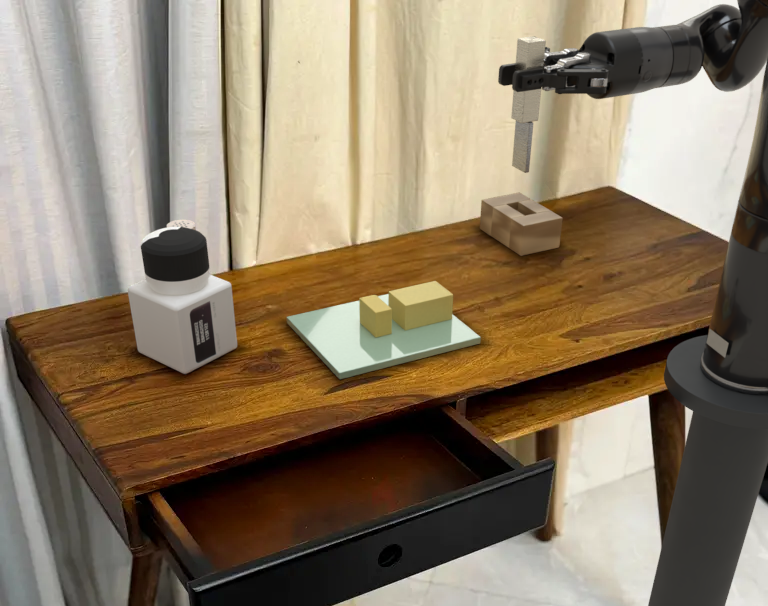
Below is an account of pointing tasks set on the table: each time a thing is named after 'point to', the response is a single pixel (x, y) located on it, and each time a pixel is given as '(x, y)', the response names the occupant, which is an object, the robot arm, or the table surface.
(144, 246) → the container
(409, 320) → the butter block
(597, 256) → the table surface
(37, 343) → the table surface
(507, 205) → the knife stand
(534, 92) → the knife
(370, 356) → the butter board
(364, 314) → the block
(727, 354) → the robot arm
